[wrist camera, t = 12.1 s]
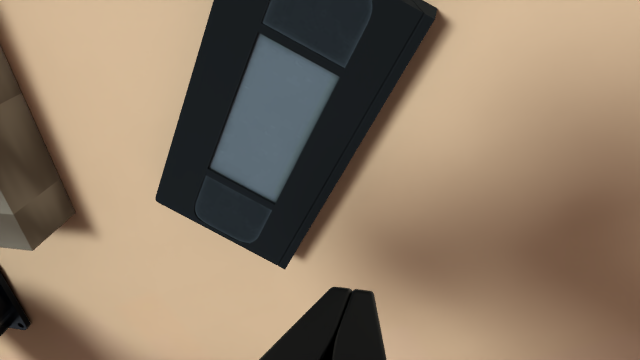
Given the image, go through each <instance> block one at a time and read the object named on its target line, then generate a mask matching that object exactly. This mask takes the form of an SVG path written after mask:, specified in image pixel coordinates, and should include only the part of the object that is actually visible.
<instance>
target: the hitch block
mask: <svg viewBox="0 0 640 360" xmlns="http://www.w3.org/2000/svg"><path fill="white" fill-rule="evenodd" d="M74 214H75V211H74V208H73V206H72V204H71V202H70V200H69V197H68V195H67V193H66V191H65V188H64V186H63V184H62V182H61V180H60V177H59V175H58V173H57V171H56V168H55V166H54V164H53V162H52V160H51V157H50V155H49V153H48V151H47V148H46V146H45V144H44V142H43V140H42V137H41V135H40V133H39V131H38V128H37V126H36V124H35V122H34V120H33V117H32V115H31V113H30V111H29V108H28V106H27V104H26V102H25V100H24V97H23V95H22V93H21V91H20V88H19V86H18V84H17V82H16V80H15V77H14V75H13V73H12V71H11V68H10V66H9V64H8V62H7V60H6V57H5V55H4V53H3V51H2V48H1V46H0V247H3V248H12V249H21V250H31V251H33V250H34V249H35V248H36V247H37V246H39V245H40V244H41V243H42V242H43V241H44V240H45V239H46V238H48V237H49V236H50V235H51V234H52V233H53V232H54V231H55V230H57V229H58V228H59V227H60V226H61V225H62V224H63V223H65V222H66V221H67V220H68V219H69V218H70V217H71V216H72V215H74Z"/></svg>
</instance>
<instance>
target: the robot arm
mask: <svg viewBox="0 0 640 360" xmlns="http://www.w3.org/2000/svg"><path fill="white" fill-rule="evenodd" d="M30 325H31V323H30V321H29V320H28V318H27V316H26V315H25V313H24V311H23V310H22V308H21V306H20V305H19V303H18V301H17V300H16V298H15V296H14V294H13V293H12V291H11V289H10V288H9V286H8V284H7V283H6V281H5V279H4V278H3V276H2V274H1V273H0V336H1V335H2V334H3V333H4V332H5V331H6V330H7V329H8V328H14V329H20V330H26V329H27V328H28V327H29V326H30ZM259 360H386V354H385V349H384V344H383V339H382V334H381V328H380V323H379V318H378V313H377V307H376V302H375V297H374V293H373V292H372V291H367V290H358V289H355V290H353V291H352V290H351V289H349V288H341V287H332V288H330V289H329V290H328V291H327V292H326V293H325V294H324V295H323V296H322V297H321V298H320V299H319V300H318V301H317V302H316V303H315V304H314V305H313V306H312V307H311V308H310V309H309V310H308V311H307V312H306V313H305V314H304V315H303V316H302V317H301V318H300V319H299V320H298V321H297V322H296V323H295V324H294V325H293V326H292V327H291V328H290V329H289V330H288V331H287V332H286V333H285V334H284V335H283V336H282V337H281V338H280V339H279V340H278V341H277V342H276V343H275V344H274V345H273V346H272V347H271V348H270V349H269V350H268V351H267V352H266V353H265V354H264V355H263V356H262V357H261V358H260V359H259Z"/></svg>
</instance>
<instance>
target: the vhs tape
mask: <svg viewBox="0 0 640 360" xmlns="http://www.w3.org/2000/svg"><path fill="white" fill-rule="evenodd" d="M436 12H437V8H436V7H434V6H432V5H430V4H428V3H427V2H425V1H423V0H214V2H213V5H212V8H211V12H210V15H209V18H208V22H207V25H206V29H205V32H204V35H203V39H202V42H201V46H200V49H199V52H198V56H197V59H196V62H195V66H194V69H193V73H192V76H191V79H190V83H189V86H188V89H187V93H186V96H185V100H184V103H183V106H182V110H181V113H180V116H179V120H178V123H177V127H176V130H175V133H174V137H173V140H172V144H171V147H170V150H169V154H168V157H167V160H166V164H165V167H164V171H163V174H162V177H161V181H160V184H159V187H158V191H157V194H156V201H157V202H158V203H160V204H162V205H164V206H166V207H168V208H170V209H172V210H174V211H175V212H177V213H179V214H181V215H183V216H185V217H187V218H189V219H191V220H193V221H194V222H196V223H198V224H200V225H202V226H204V227H206V228H208V229H210V230H211V231H213V232H215V233H217V234H219V235H221V236H223V237H225V238H227V239H228V240H230V241H232V242H234V243H236V244H238V245H240V246H242V247H244V248H245V249H247V250H249V251H251V252H253V253H255V254H257V255H259V256H261V257H262V258H264V259H266V260H268V261H270V262H272V263H274V264H276V265H278V266H279V267H281V268H283V269H286V267H287V265H288V264H289V262H290V260H291V258H292V257H293V255H294V253H295V252H296V250H297V248H298V247H299V245H300V243H301V242H302V240H303V238H304V237H305V235H306V233H307V232H308V230H309V228H310V227H311V225H312V223H313V222H314V220H315V218H316V217H317V215H318V213H319V212H320V210H321V208H322V207H323V205H324V203H325V202H326V200H327V198H328V197H329V195H330V193H331V192H332V190H333V188H334V187H335V185H336V183H337V182H338V180H339V178H340V177H341V175H342V173H343V172H344V170H345V168H346V167H347V165H348V163H349V162H350V160H351V158H352V157H353V155H354V153H355V152H356V150H357V148H358V147H359V145H360V143H361V142H362V140H363V138H364V137H365V135H366V133H367V132H368V130H369V128H370V127H371V125H372V123H373V122H374V120H375V118H376V117H377V115H378V113H379V112H380V110H381V108H382V107H383V105H384V103H385V102H386V100H387V98H388V97H389V95H390V93H391V92H392V90H393V88H394V87H395V85H396V83H397V82H398V80H399V78H400V77H401V75H402V73H403V71H404V70H405V68H406V66H407V65H408V63H409V61H410V60H411V58H412V56H413V55H414V53H415V51H416V50H417V48H418V46H419V45H420V43H421V41H422V40H423V38H424V36H425V35H426V33H427V31H428V30H429V28H430V26H431V25H432V23H433V21H434V20H435V16H436Z"/></svg>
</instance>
